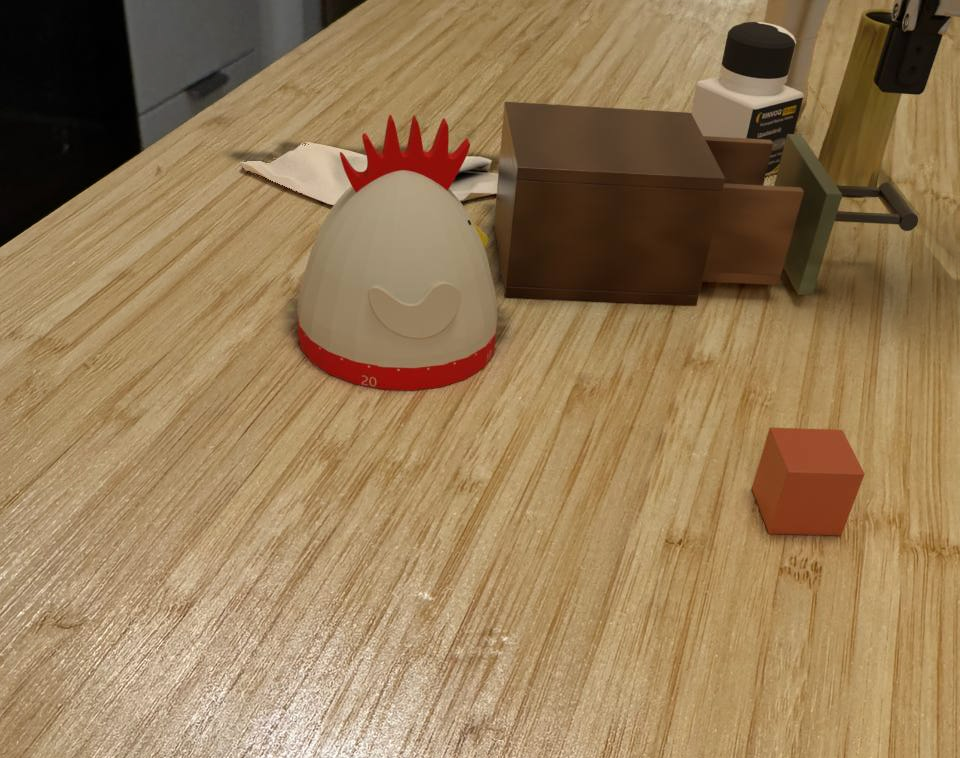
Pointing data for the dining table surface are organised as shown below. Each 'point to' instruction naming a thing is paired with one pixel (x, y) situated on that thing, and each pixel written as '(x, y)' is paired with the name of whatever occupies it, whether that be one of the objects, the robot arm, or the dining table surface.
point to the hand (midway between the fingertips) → (897, 88)
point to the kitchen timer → (399, 273)
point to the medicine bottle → (751, 89)
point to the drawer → (782, 213)
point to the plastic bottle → (799, 36)
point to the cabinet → (604, 204)
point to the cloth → (327, 181)
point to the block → (806, 481)
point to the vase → (861, 110)
